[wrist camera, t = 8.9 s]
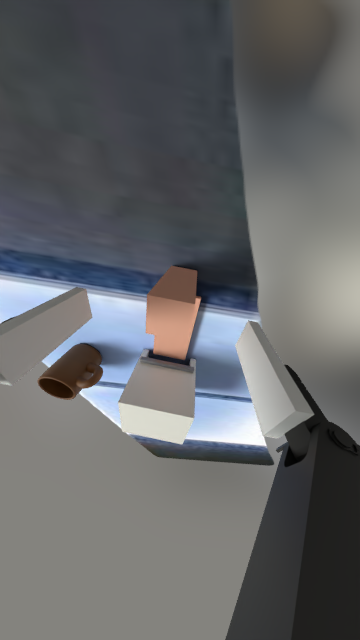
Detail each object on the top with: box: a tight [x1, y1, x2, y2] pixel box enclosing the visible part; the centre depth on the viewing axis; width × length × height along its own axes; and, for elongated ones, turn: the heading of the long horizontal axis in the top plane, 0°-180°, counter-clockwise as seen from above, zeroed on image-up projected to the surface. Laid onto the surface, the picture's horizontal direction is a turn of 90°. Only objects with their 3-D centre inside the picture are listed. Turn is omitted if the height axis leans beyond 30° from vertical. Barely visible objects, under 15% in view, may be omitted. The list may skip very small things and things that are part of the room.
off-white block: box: [118, 349, 196, 444], centre depth 30 cm, size 12×12×12 cm
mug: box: [38, 344, 103, 400], centre depth 31 cm, size 12×8×9 cm, turn 102°
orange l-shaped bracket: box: [146, 266, 201, 360], centre depth 22 cm, size 18×7×12 cm, turn 171°
